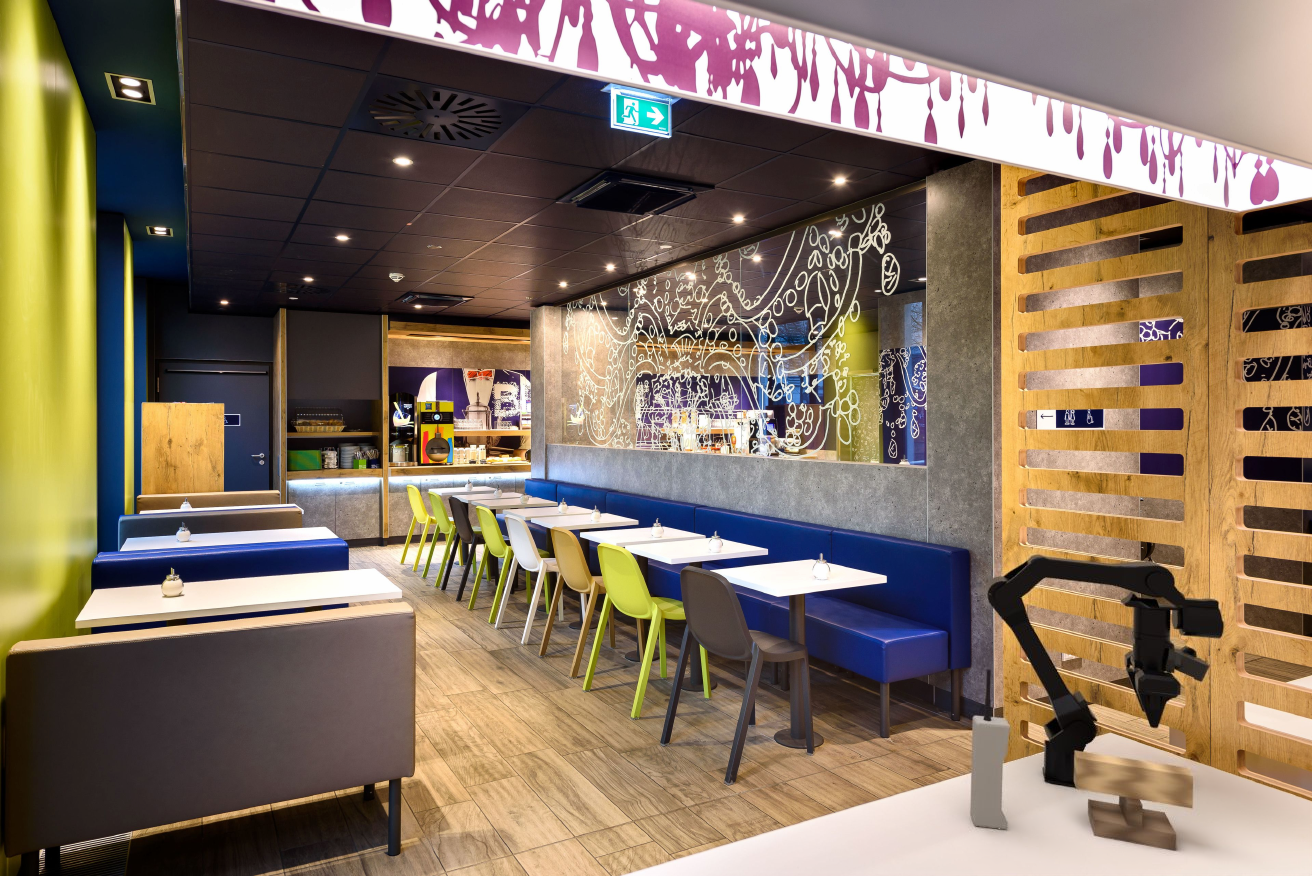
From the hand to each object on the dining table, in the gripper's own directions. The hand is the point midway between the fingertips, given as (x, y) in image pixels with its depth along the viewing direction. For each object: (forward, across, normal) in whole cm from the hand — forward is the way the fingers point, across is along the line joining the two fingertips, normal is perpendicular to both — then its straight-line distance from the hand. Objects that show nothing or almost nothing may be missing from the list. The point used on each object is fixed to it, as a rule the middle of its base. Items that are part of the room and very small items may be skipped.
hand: (1149, 719), depth 142 cm
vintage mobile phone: (+13, -27, +26) cm, 39 cm away
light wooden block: (+7, -19, +5) cm, 21 cm away
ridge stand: (+13, -19, +5) cm, 24 cm away
